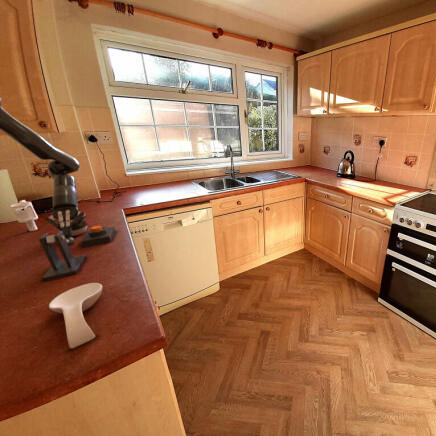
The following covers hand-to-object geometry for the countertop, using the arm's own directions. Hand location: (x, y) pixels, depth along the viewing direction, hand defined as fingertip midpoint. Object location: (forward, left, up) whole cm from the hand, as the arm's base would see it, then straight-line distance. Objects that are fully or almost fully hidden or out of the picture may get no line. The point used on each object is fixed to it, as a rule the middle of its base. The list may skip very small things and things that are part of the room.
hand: (67, 236), depth 94 cm
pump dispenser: (-16, +21, -8) cm, 28 cm away
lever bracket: (+5, -9, -8) cm, 13 cm away
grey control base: (0, +15, -8) cm, 17 cm away
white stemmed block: (-44, +28, -8) cm, 53 cm away
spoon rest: (+30, -34, -8) cm, 46 cm away
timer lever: (+3, -5, -1) cm, 6 cm away
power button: (0, +15, -4) cm, 15 cm away
